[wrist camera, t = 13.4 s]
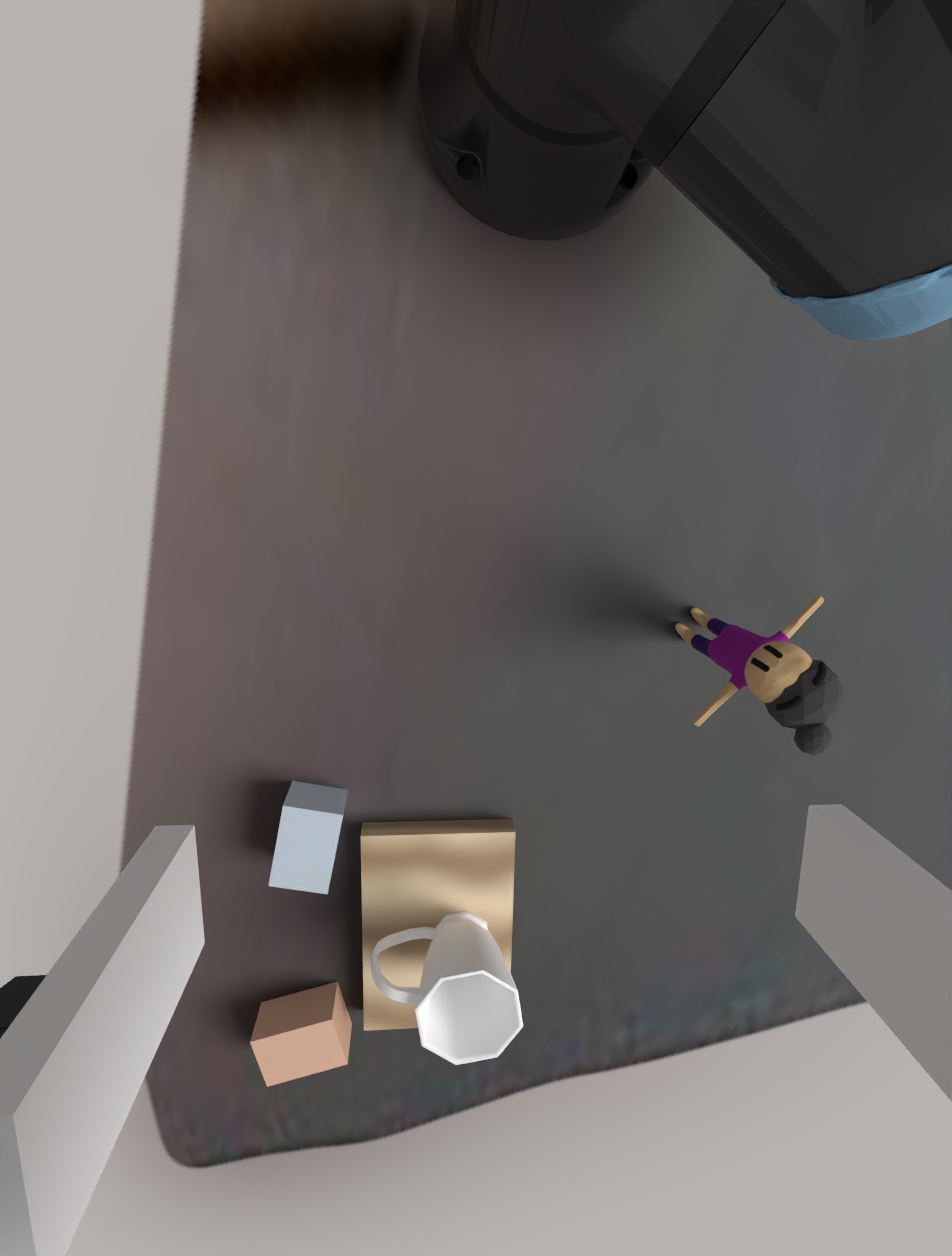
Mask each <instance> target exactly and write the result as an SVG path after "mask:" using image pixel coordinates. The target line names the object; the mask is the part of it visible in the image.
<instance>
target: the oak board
mask: <svg viewBox="0 0 952 1256" xmlns="http://www.w3.org/2000/svg"><path fill="white" fill-rule="evenodd" d="M514 859H515V829H514V825H513V822H512V819H483V820H443V821H402V822H363V823H362V830H361V884H362V943H363V1001H364V1031H366V1030H385V1029H404V1028H418V1023H417V1018H416V1013H415V1007H416V1004H407V1003H403V1002H398V1001H395V1000H392V999H390V998H388V997H386V996H385V995H384V994H383V993H382V992H381V991H380V990H379V989H378V988H377V987H376V986H375V983H374V980H373V977H372V973H371V961H370V960H371V957H372V953H373V950H374V948H375V946H376V944H377V943H378V941H380V940H382V939H383V938H385V937H387V936H388V935H391V934H394V933H397V932H401V931H404V930H408V929H411V928H418V927H433V928H436V926H437V925H438V924H439V923H440V921H441V920H442V919H443V917H444V916H445V915H448V914H453V913H458V912H464V911H470V912H471V913H473V914H474V915H476V916H478V917H479V918H481V919H483V920H484V921H486V922H487V928H488V931H489V932H490V933H491V935H492V936H493V938H494V939H495V941H496V943H497V944H498V946H499V948H500V950H501V952H502V955H503V957H504V960H505V962H506V965H507V967H508V969H509V972H510V974H511V948H512V918H513V889H514ZM432 941H433V940H432V939H426V938H422V939H415V940H410V941H406V942H403V943H400V944H397V945H394V946H391V947H389V948H387V949H385V950H383V951H381V952H380V953H379V954H378V956H377V959H378V964H379V968H380V971H381V973H382V974H383V975H384V976H385V977H386V979H387V980H388V981H389V982H390V983H391V984H393V985H395V986H397V987H413V988H414V987H420V983H421V977H422V972H423V966H424V961H425V958H426V955H427V952H428V950H429V947H430V944H431V942H432Z"/></svg>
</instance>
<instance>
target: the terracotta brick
mask: <svg viewBox="0 0 952 1256" xmlns="http://www.w3.org/2000/svg"><path fill="white" fill-rule="evenodd" d="M351 1027H352V1023H351V1020H350V1017H349V1014H348V1011H347V1008H346V1005H345V1002H344V999H343V996H342V993H341V990H340V987H339V984H338V982H334V983H330V984H327V985H323V986H319V987H316V988H312V989H308V990H305V991H301V992H297V993H294V994H290V995H286V996H283V997H279V998H275V999H272V1000H268V1001H265V1002H261V1005H260V1009H259V1012H258V1016H257V1019H256V1023H255V1026H254V1030H253V1033H252V1037H251V1041H250V1043H251V1046H252V1049H253V1051H254V1054H255V1056H256V1059H257V1062H258V1064H259V1067H260V1069H261V1072H262V1075H263V1077H264V1080H265V1082H266V1085H267V1087H268V1086H271V1085H275V1084H278V1083H282V1082H286V1081H289V1080H293V1079H296V1078H300V1077H304V1076H307V1075H311V1074H314V1073H318V1072H321V1071H325V1070H329V1069H332V1068H336V1067H339V1066H343V1065H346V1064H348V1055H349V1046H350V1037H351Z"/></svg>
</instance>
